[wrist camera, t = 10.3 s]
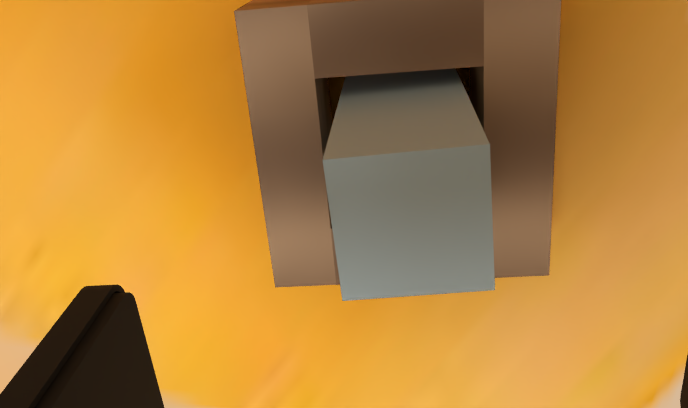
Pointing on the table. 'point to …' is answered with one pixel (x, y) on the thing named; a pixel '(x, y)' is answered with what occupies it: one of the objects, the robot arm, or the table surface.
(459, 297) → the table surface
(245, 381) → the table surface
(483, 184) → the peg
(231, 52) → the table surface
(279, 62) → the socket block
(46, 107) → the table surface
